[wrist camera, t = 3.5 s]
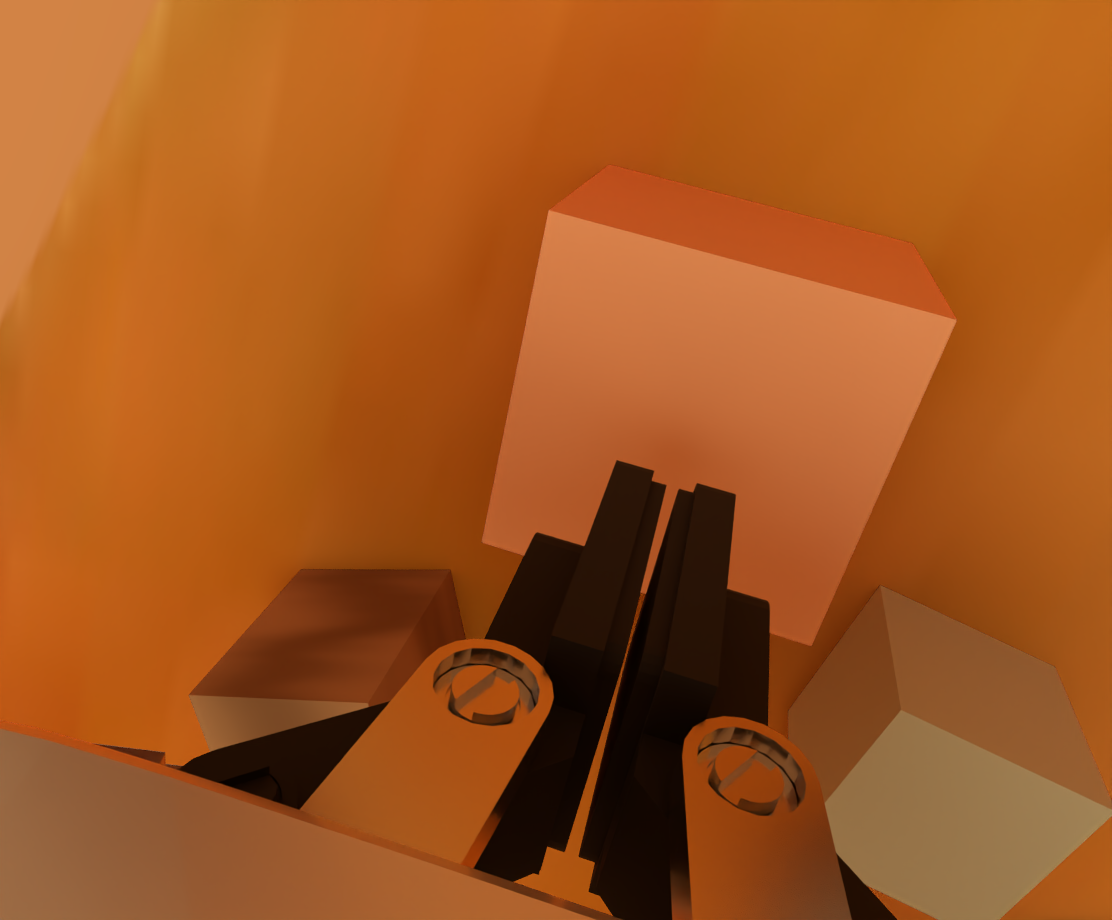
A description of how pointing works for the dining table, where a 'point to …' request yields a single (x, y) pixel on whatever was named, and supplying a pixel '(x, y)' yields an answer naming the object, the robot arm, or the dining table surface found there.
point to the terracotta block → (717, 377)
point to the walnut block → (327, 650)
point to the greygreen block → (946, 761)
